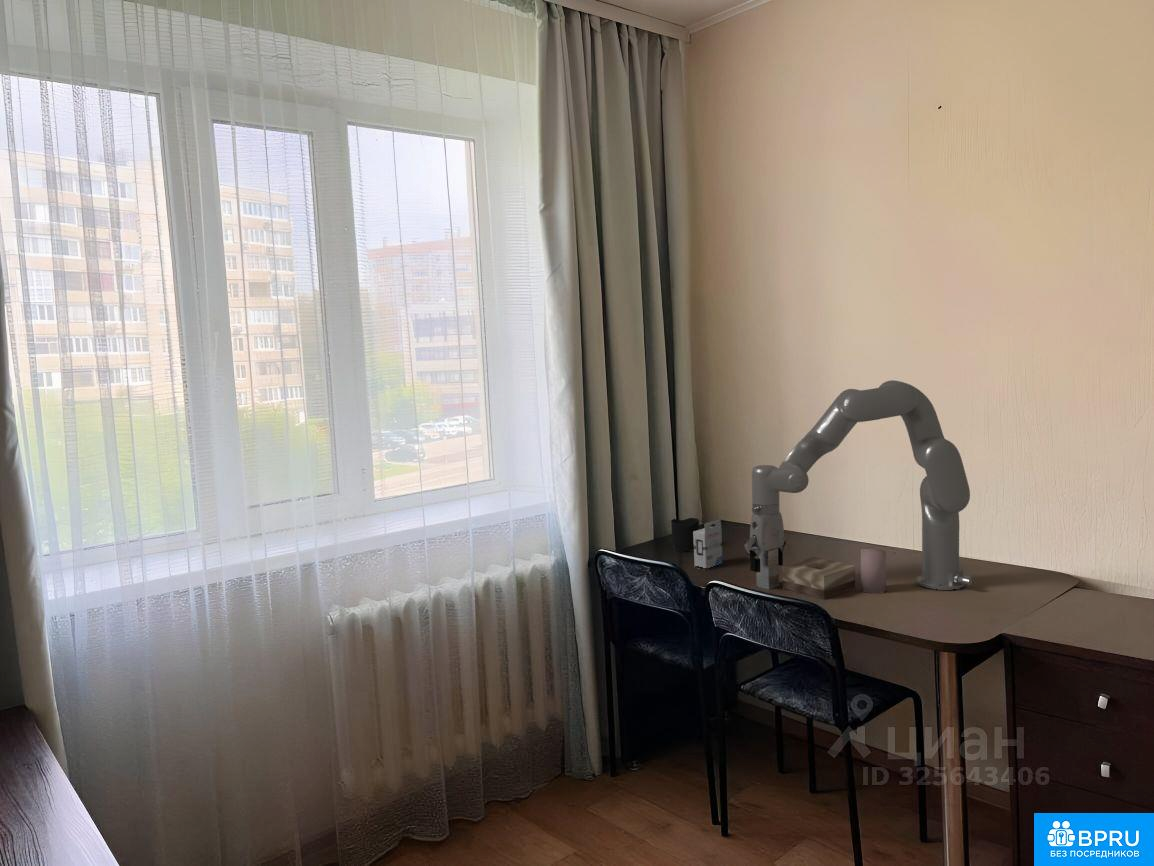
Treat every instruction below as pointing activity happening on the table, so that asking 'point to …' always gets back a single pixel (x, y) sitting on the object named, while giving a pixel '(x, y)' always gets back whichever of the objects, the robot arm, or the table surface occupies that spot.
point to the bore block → (818, 577)
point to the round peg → (873, 570)
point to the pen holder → (684, 533)
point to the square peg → (768, 569)
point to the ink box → (708, 545)
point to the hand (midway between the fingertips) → (766, 567)
